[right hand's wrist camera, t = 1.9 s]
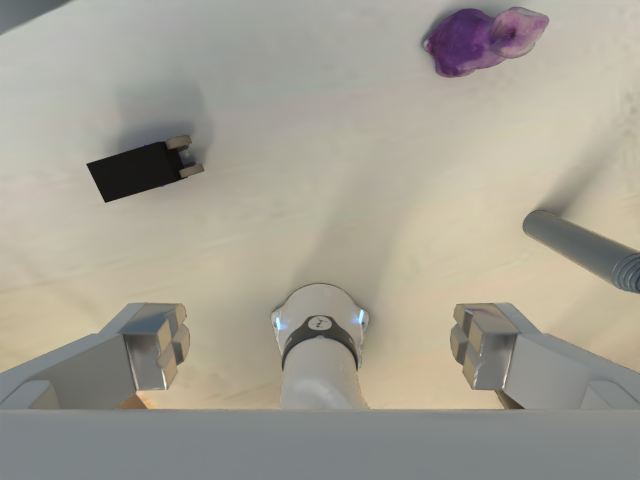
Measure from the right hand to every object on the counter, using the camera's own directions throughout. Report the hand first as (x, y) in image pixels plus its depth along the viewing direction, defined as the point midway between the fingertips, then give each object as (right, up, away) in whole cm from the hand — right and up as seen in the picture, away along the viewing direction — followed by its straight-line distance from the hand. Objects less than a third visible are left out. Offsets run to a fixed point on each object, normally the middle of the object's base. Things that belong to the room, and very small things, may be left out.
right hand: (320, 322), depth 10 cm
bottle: (+38, +5, +49) cm, 62 cm away
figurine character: (-26, +15, +46) cm, 55 cm away
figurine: (+21, +31, +40) cm, 55 cm away
